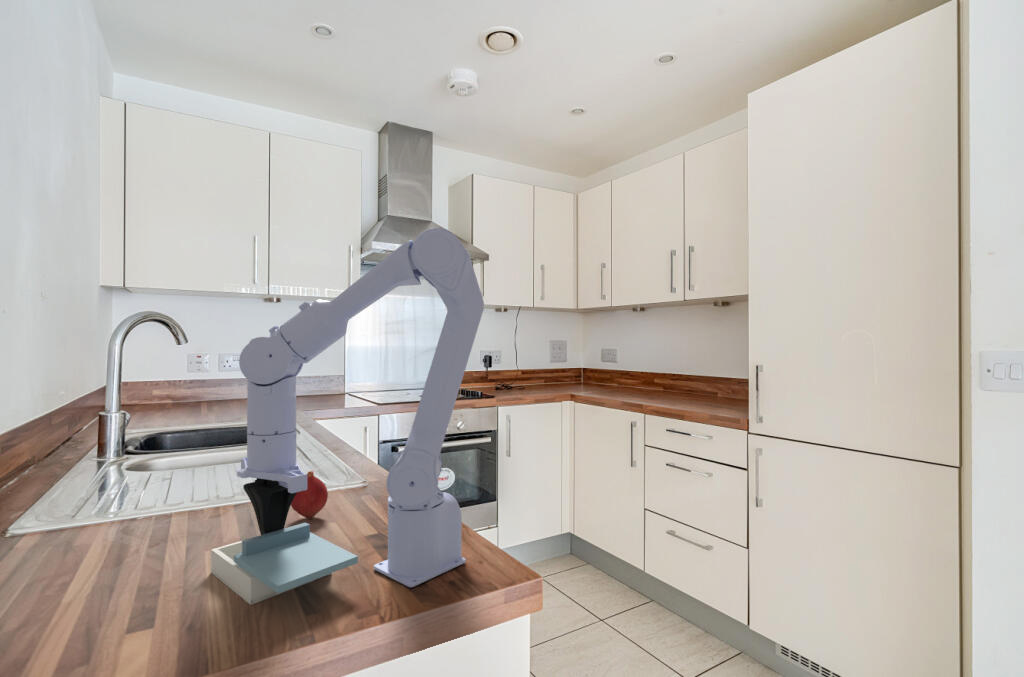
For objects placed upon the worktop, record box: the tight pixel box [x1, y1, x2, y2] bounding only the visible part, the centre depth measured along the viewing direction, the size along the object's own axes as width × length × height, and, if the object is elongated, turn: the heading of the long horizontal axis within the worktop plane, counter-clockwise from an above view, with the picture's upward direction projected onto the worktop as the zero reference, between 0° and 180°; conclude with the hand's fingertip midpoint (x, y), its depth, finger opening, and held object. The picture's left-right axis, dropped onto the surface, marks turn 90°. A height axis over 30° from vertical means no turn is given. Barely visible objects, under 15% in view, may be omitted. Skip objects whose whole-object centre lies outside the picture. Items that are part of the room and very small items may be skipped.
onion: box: [290, 470, 329, 520], centre depth 85 cm, size 6×6×8 cm
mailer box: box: [210, 536, 333, 606], centre depth 65 cm, size 10×12×3 cm
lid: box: [234, 522, 359, 594], centre depth 61 cm, size 10×12×2 cm
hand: (272, 537), depth 65 cm, fingers closed
